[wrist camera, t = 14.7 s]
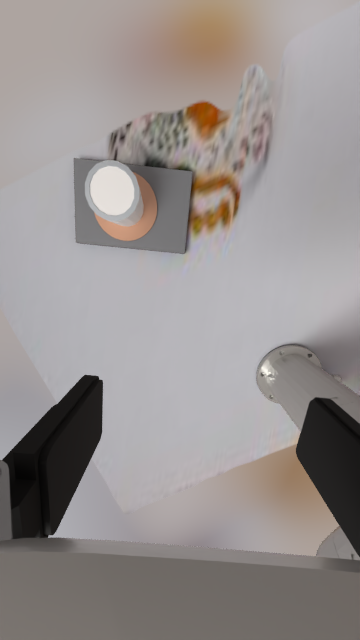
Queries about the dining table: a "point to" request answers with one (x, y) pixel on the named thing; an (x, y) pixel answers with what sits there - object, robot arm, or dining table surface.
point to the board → (171, 210)
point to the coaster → (143, 224)
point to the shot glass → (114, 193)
